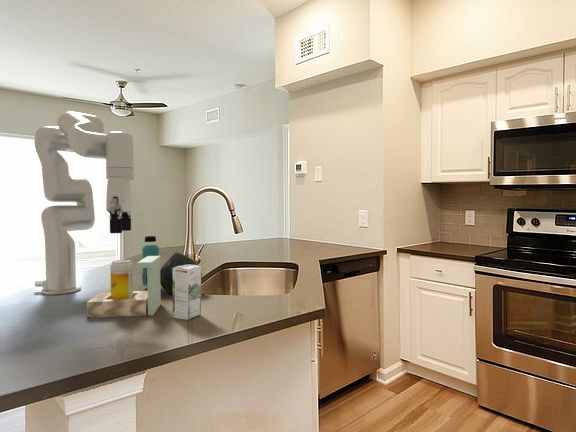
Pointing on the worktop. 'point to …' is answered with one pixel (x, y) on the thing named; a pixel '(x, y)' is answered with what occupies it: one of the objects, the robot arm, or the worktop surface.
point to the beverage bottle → (149, 254)
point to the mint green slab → (152, 281)
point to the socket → (118, 305)
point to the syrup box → (186, 291)
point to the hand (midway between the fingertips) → (120, 231)
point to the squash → (167, 270)
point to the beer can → (121, 279)
